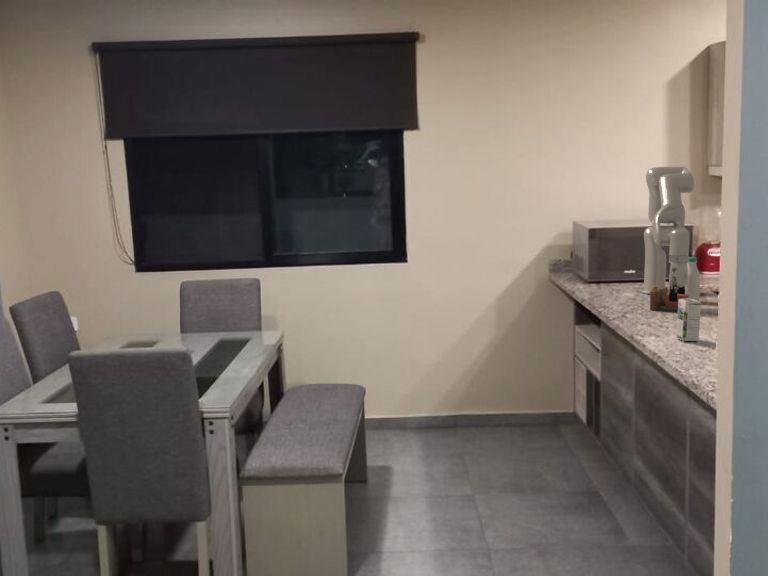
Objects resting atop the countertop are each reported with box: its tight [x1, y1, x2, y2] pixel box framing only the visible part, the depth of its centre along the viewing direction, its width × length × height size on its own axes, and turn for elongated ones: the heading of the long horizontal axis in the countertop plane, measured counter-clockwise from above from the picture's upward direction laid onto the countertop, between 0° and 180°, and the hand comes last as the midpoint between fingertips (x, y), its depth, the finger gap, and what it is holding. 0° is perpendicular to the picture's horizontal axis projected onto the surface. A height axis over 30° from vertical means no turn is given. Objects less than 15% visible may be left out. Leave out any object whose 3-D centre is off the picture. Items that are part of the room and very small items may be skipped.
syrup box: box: [675, 299, 702, 342], centre depth 264 cm, size 6×6×14 cm
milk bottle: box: [685, 256, 701, 301], centre depth 331 cm, size 8×8×20 cm
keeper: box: [657, 303, 678, 313], centre depth 317 cm, size 9×12×2 cm
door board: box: [649, 286, 669, 312], centre depth 321 cm, size 15×2×10 cm, turn 141°
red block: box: [665, 293, 689, 307], centre depth 317 cm, size 4×8×7 cm, turn 51°
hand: (676, 299), depth 317 cm, fingers open, 9 cm apart
